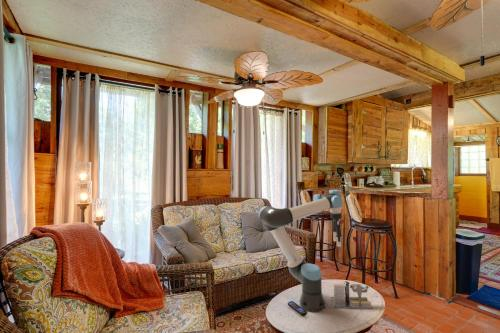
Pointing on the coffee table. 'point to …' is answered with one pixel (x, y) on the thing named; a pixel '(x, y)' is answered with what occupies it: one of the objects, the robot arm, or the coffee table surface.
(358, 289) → the mechanical component
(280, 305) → the coffee table surface
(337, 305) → the hinge base
